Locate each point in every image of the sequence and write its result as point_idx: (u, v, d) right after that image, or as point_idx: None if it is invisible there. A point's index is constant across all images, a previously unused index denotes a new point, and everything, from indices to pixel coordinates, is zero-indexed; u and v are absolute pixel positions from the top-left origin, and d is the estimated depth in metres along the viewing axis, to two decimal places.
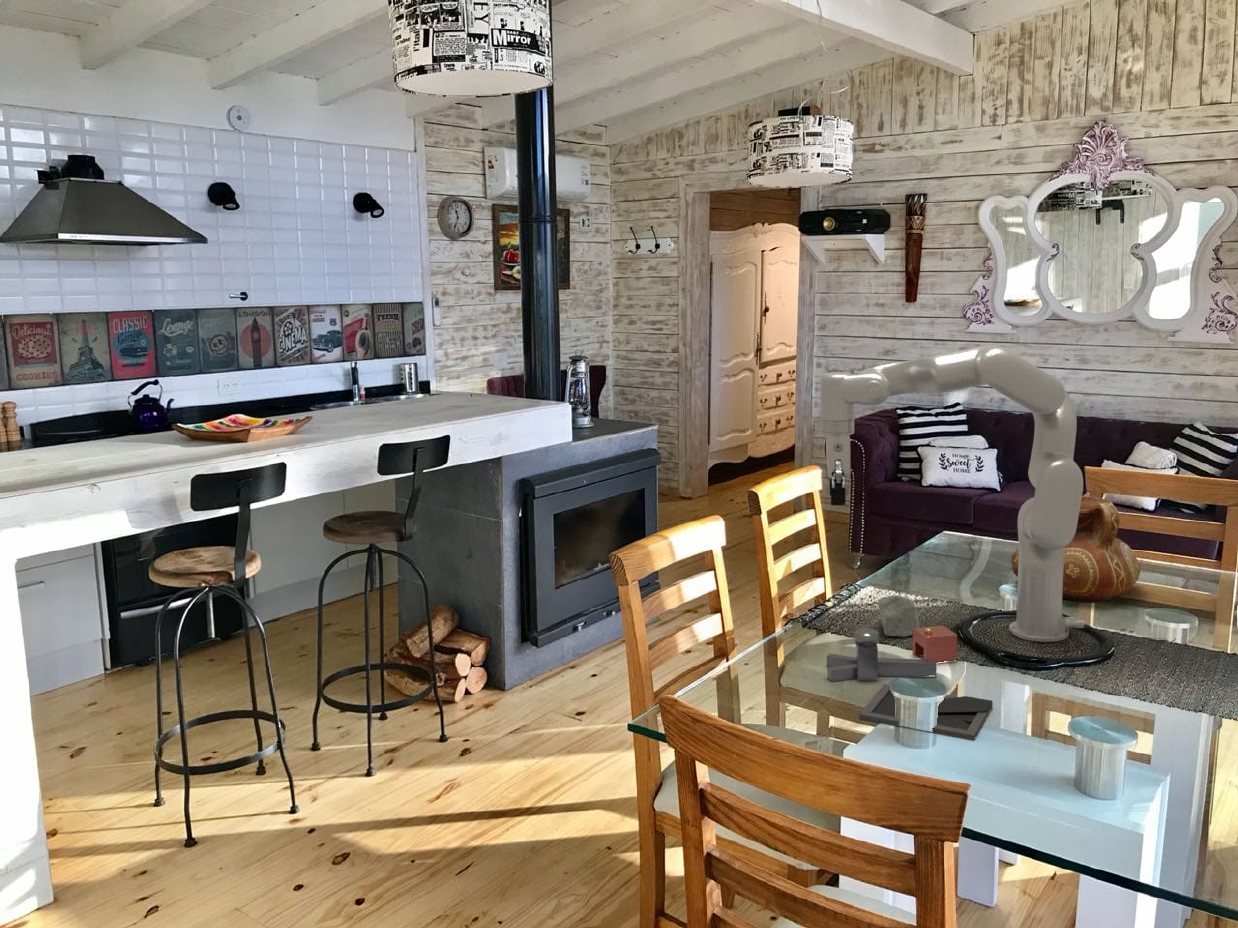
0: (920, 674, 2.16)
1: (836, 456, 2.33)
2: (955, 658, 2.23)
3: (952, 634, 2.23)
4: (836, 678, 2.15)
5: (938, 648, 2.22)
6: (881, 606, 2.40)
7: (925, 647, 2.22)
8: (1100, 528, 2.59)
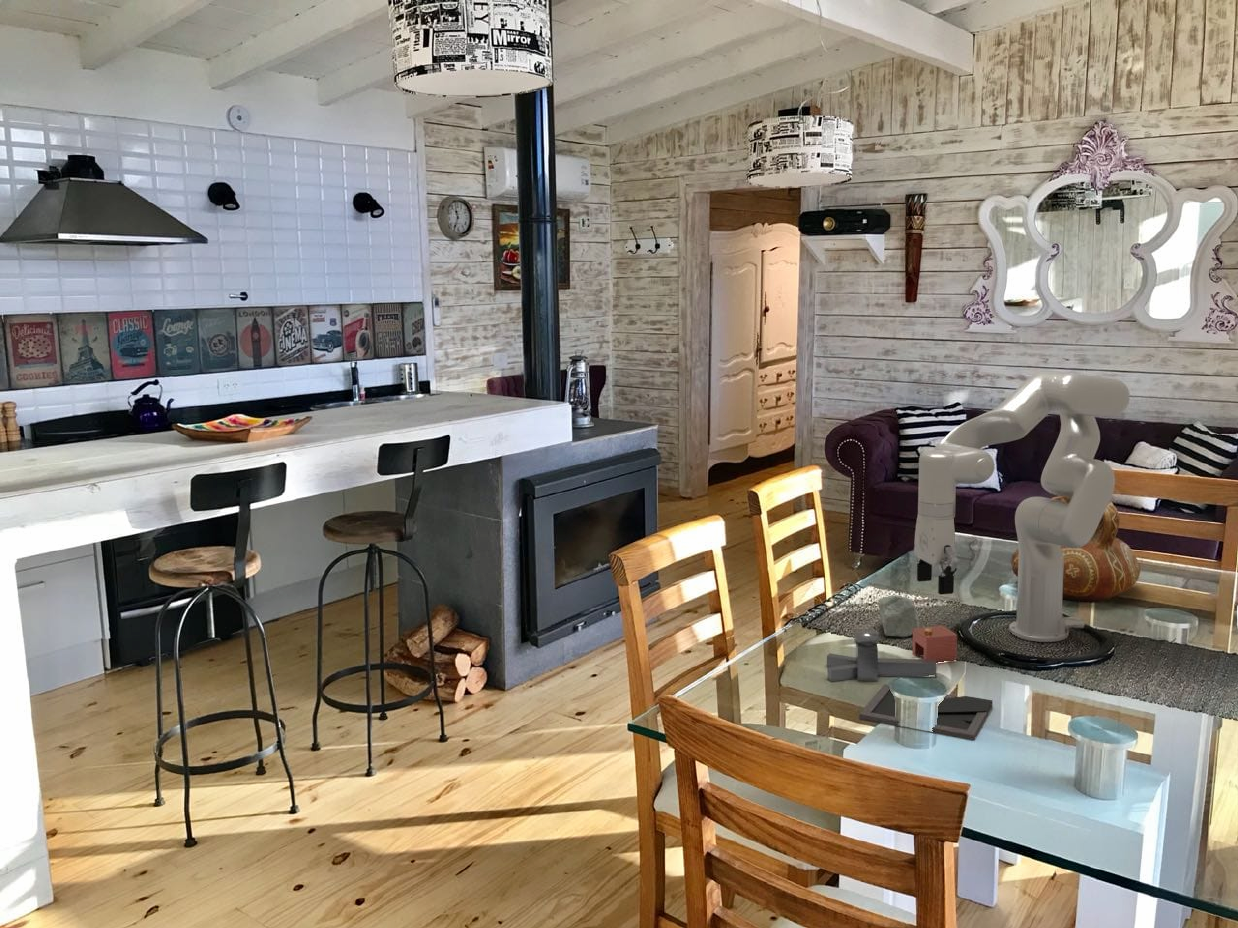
0: (920, 674, 2.16)
1: None
2: (955, 658, 2.23)
3: (952, 634, 2.23)
4: (836, 678, 2.15)
5: (938, 648, 2.22)
6: (881, 606, 2.40)
7: (925, 647, 2.22)
8: (1100, 528, 2.59)
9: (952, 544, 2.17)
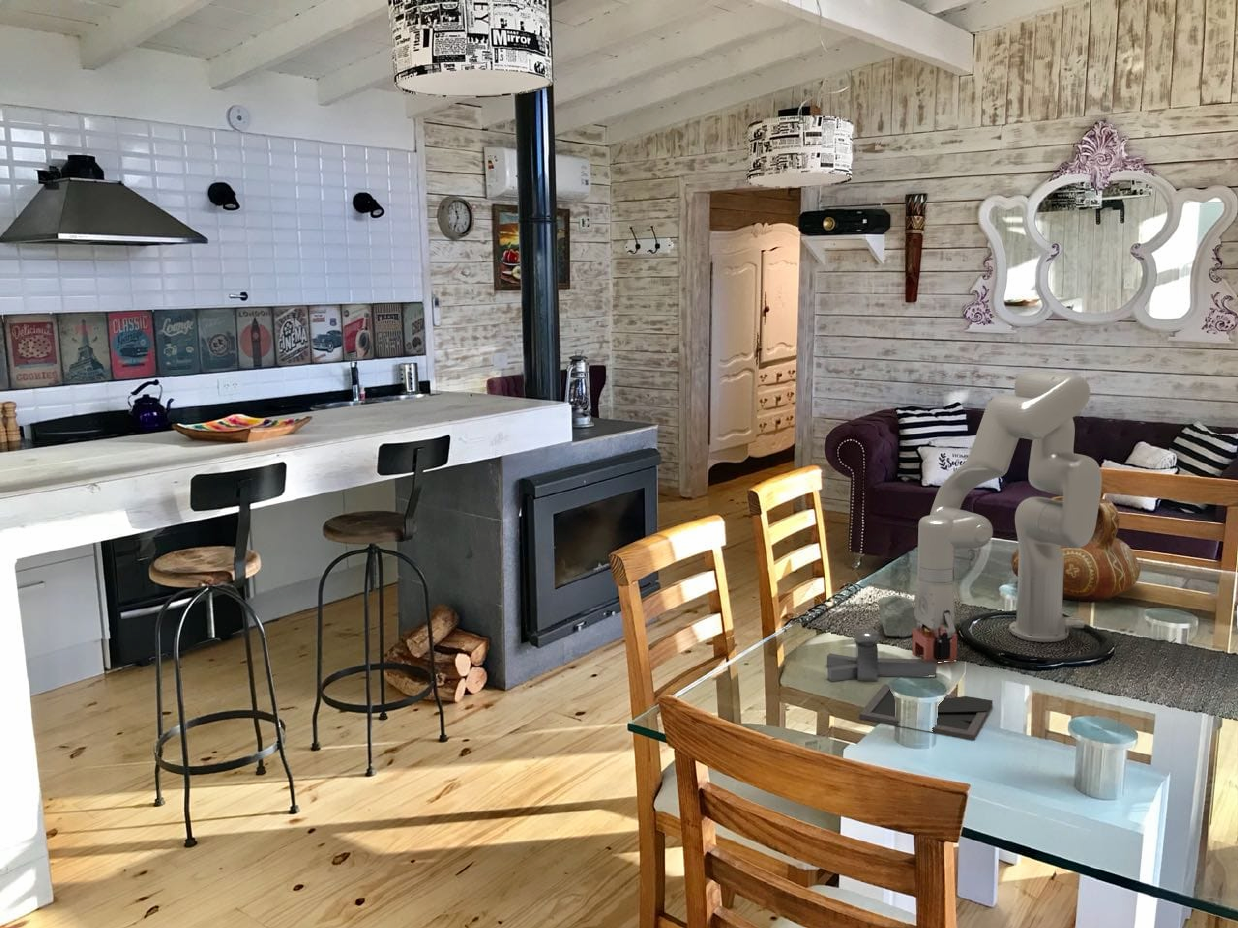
0: (920, 674, 2.16)
1: None
2: (955, 658, 2.23)
3: None
4: (836, 678, 2.15)
5: None
6: (881, 606, 2.40)
7: (925, 647, 2.22)
8: (1100, 528, 2.59)
9: (951, 609, 2.19)
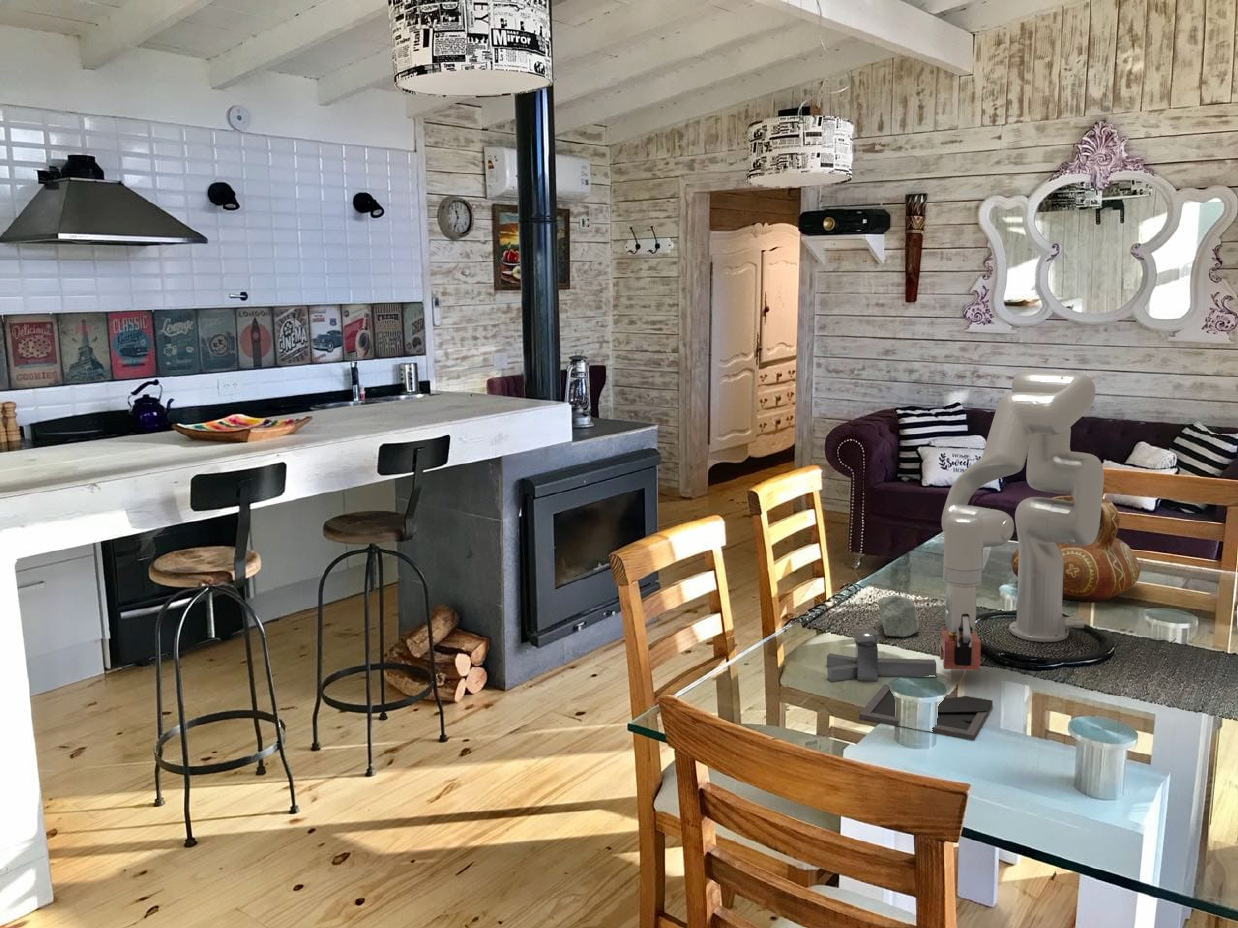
0: (920, 674, 2.16)
1: None
2: (978, 666, 2.11)
3: (975, 640, 2.11)
4: (836, 678, 2.15)
5: None
6: (881, 606, 2.40)
7: (944, 650, 2.12)
8: (1100, 528, 2.59)
9: (971, 613, 2.08)
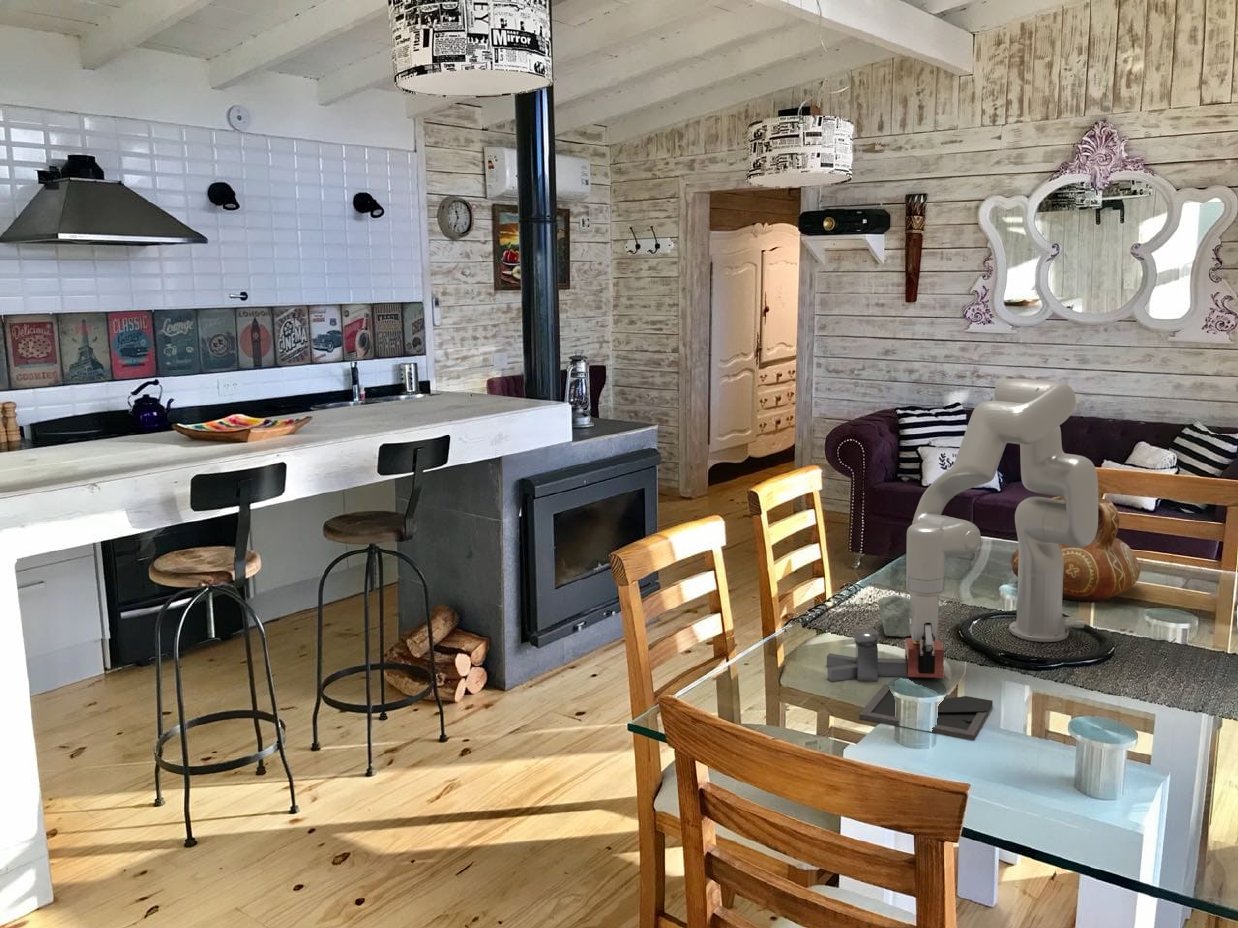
0: None
1: None
2: (942, 674, 2.13)
3: (938, 648, 2.13)
4: (836, 678, 2.15)
5: None
6: (881, 606, 2.40)
7: (908, 659, 2.14)
8: (1100, 528, 2.59)
9: (934, 621, 2.10)
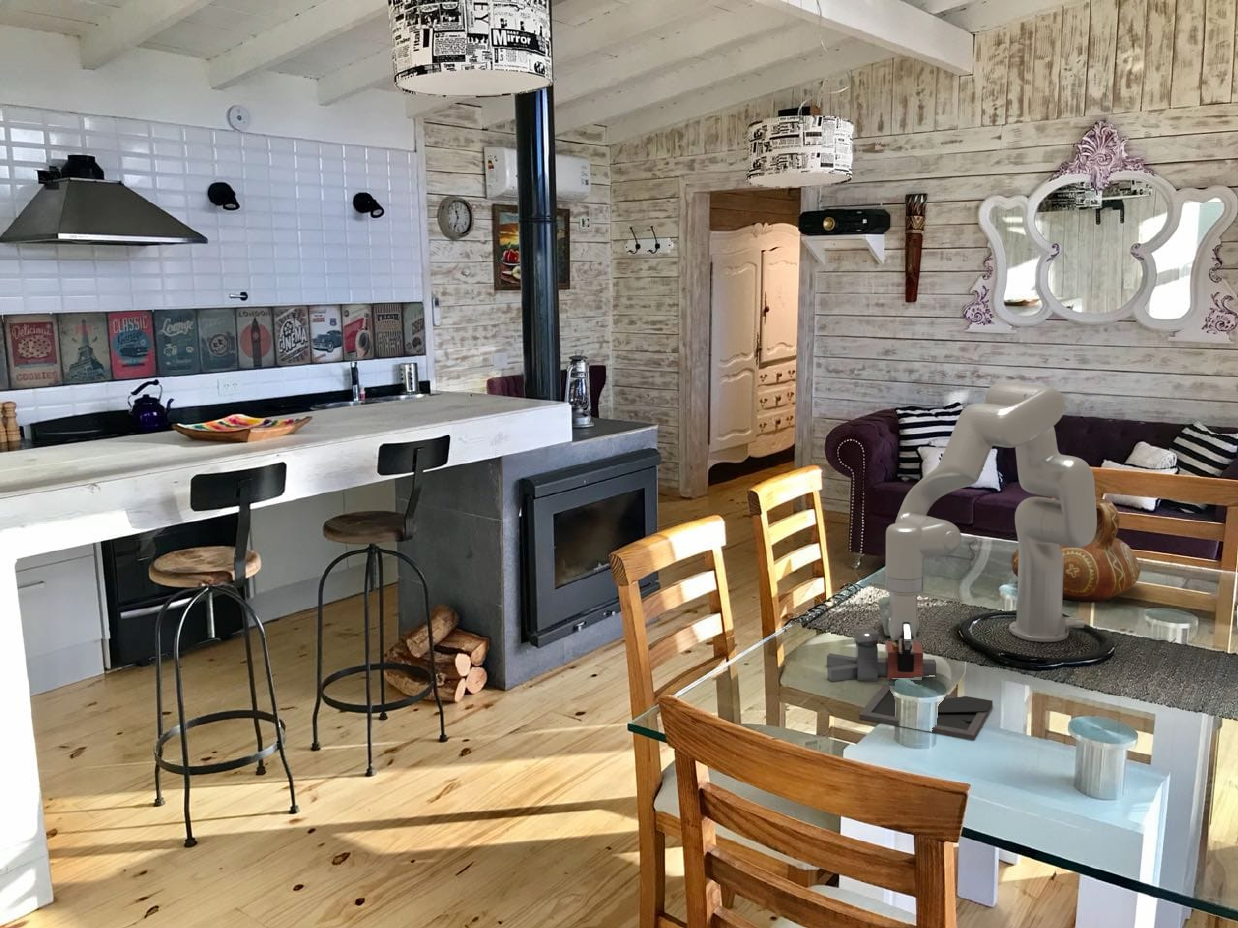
0: None
1: None
2: None
3: (918, 652, 2.14)
4: (836, 678, 2.15)
5: None
6: (881, 606, 2.40)
7: (887, 662, 2.15)
8: (1100, 528, 2.59)
9: (912, 621, 2.10)
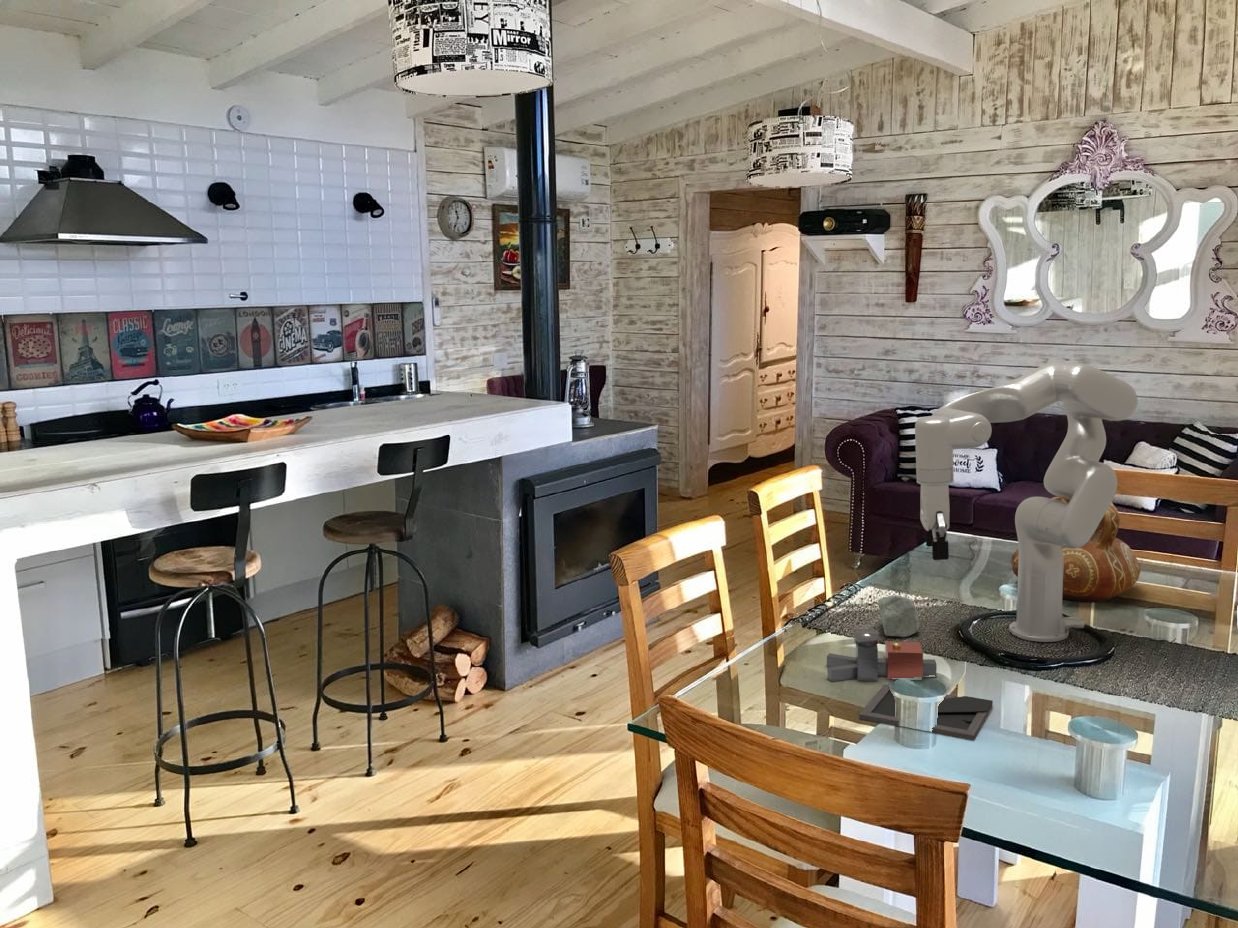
0: None
1: None
2: None
3: (918, 652, 2.14)
4: (836, 678, 2.15)
5: (901, 664, 2.14)
6: (881, 606, 2.40)
7: (887, 662, 2.15)
8: (1100, 528, 2.59)
9: (945, 510, 2.17)
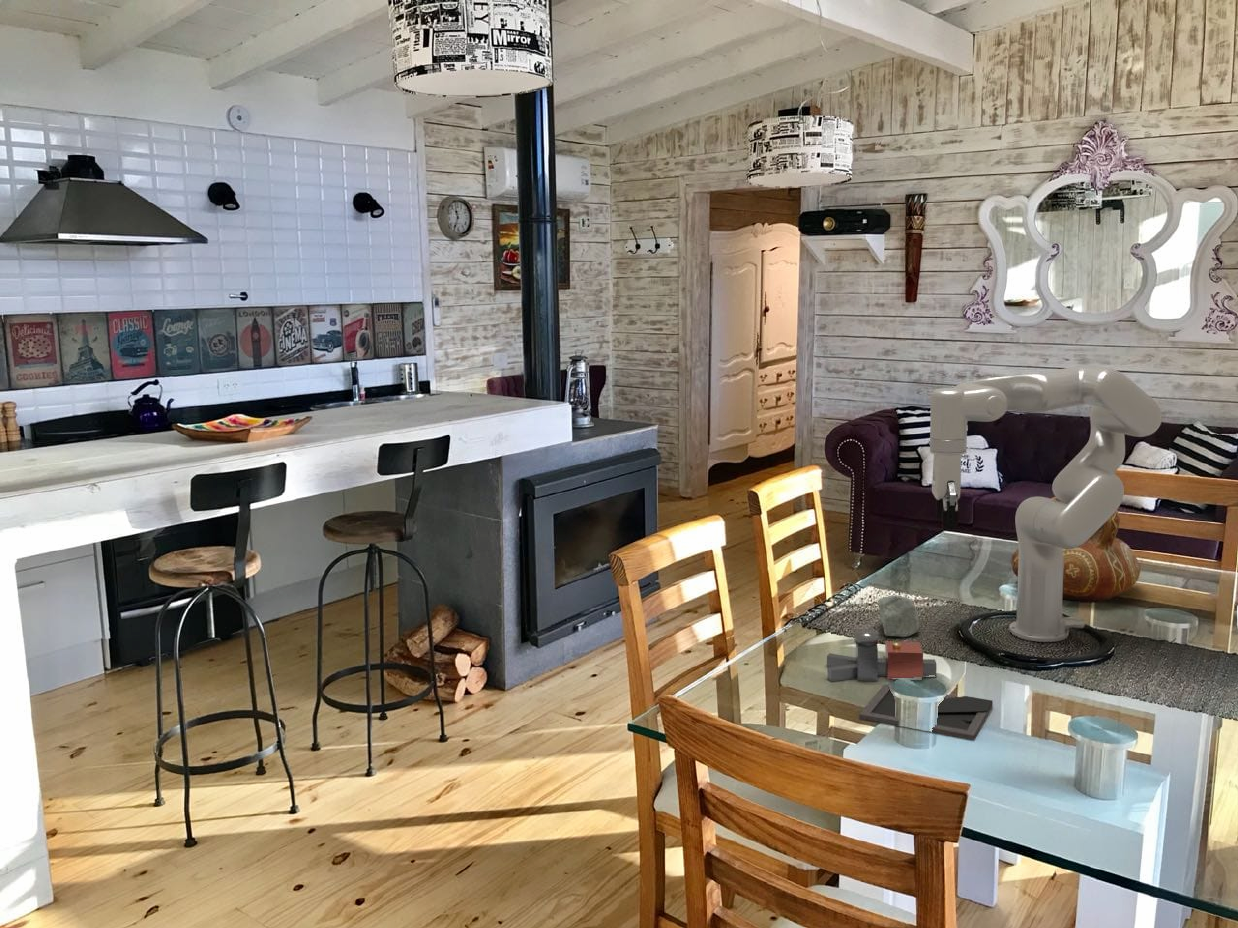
0: None
1: None
2: None
3: (918, 652, 2.14)
4: (836, 678, 2.15)
5: (901, 664, 2.14)
6: (881, 606, 2.40)
7: (887, 662, 2.15)
8: (1100, 528, 2.59)
9: (956, 480, 2.20)
